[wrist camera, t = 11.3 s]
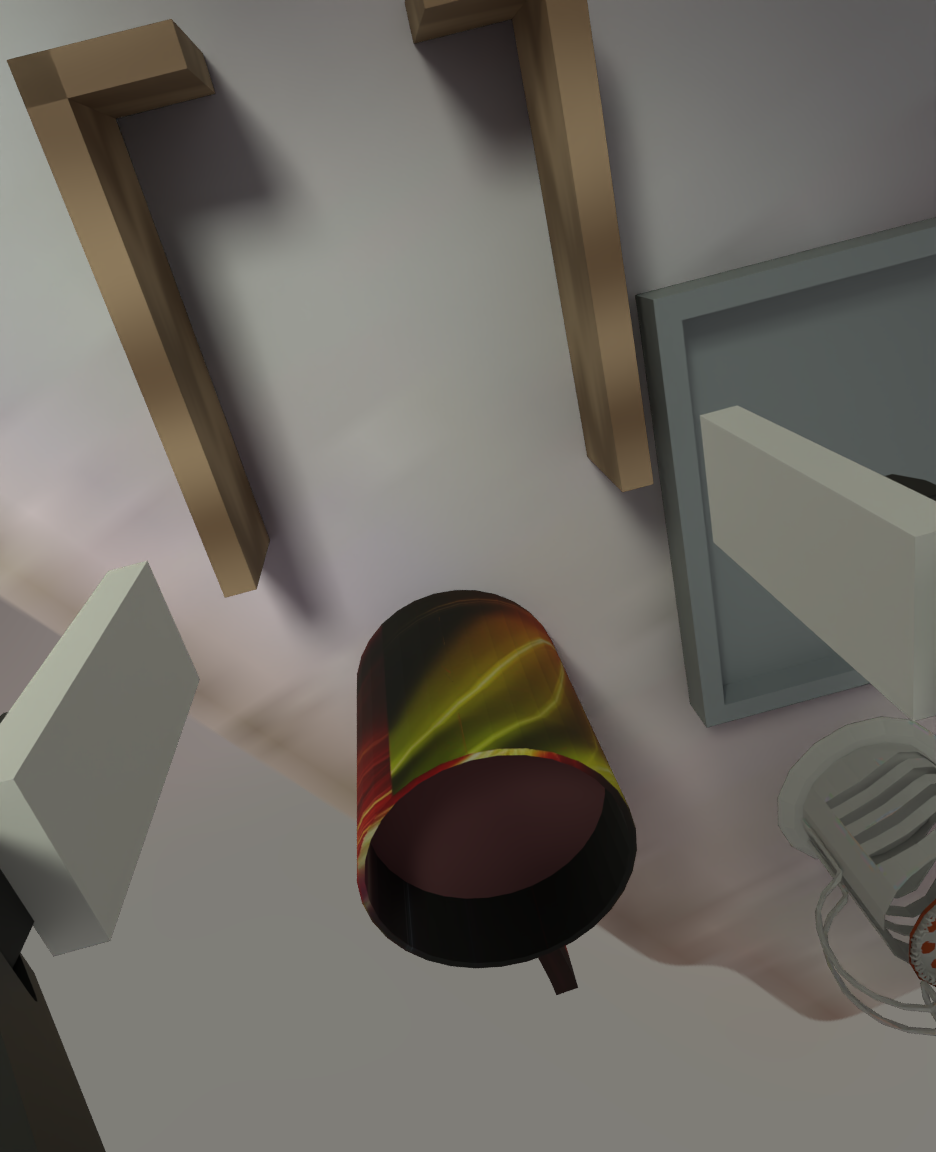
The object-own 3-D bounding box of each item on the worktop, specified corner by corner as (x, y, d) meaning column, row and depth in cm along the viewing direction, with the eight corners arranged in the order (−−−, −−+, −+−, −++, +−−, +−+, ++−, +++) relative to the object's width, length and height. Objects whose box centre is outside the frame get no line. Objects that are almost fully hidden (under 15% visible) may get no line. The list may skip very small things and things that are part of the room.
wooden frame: (65, 87, 27) (6, 59, 22) (539, -32, 27) (575, -82, 23) (242, 547, 34) (224, 597, 29) (614, 449, 34) (653, 484, 30)
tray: (635, 295, 32) (653, 300, 30) (1018, 195, 32) (1060, 193, 30) (690, 703, 40) (706, 727, 38) (993, 621, 41) (1024, 641, 39)
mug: (520, 835, 42) (576, 1047, 32) (313, 695, 37) (295, 890, 27) (653, 714, 40) (763, 896, 29) (453, 549, 35) (496, 695, 24)
